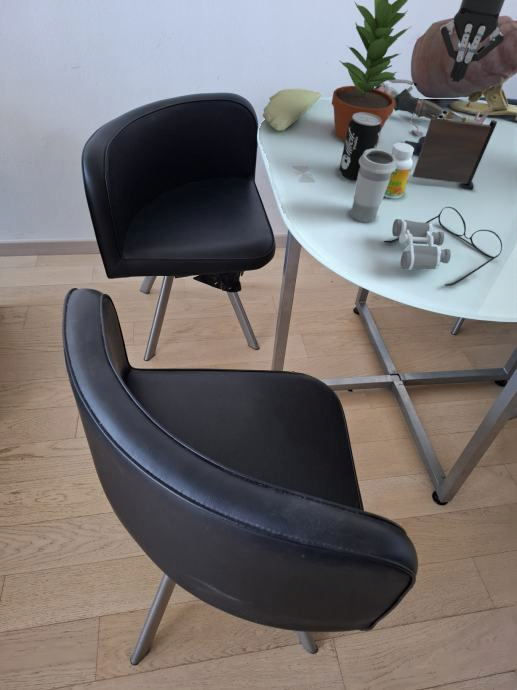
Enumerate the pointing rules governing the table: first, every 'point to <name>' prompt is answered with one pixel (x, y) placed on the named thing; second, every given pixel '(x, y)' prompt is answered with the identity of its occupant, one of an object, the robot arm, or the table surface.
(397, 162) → the supplement bottle
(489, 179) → the table surface
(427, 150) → the door
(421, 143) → the doorbell
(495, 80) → the sculpture
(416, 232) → the binoculars
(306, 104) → the dumpling
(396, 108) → the toy
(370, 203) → the cup
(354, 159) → the beverage can
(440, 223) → the glasses
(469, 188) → the upright peg on plate
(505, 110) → the sandal
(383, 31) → the potted plant
